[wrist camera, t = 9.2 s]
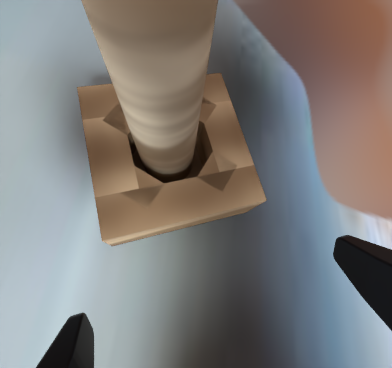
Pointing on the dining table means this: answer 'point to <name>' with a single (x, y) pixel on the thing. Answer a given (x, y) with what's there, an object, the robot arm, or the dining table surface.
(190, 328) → the dining table surface
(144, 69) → the dowel pin
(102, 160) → the socket block
